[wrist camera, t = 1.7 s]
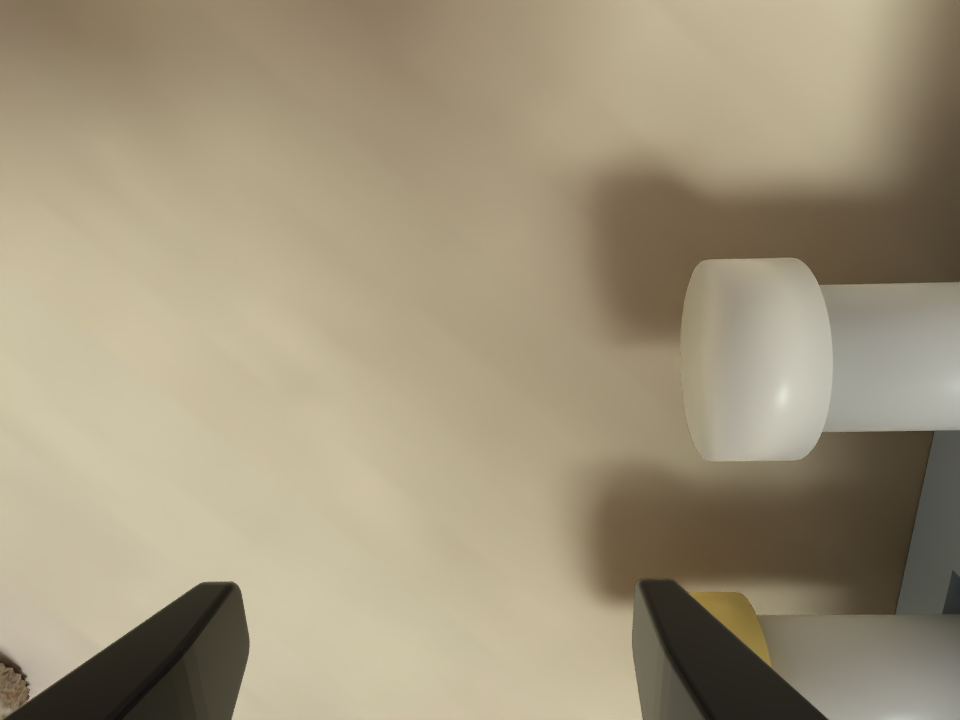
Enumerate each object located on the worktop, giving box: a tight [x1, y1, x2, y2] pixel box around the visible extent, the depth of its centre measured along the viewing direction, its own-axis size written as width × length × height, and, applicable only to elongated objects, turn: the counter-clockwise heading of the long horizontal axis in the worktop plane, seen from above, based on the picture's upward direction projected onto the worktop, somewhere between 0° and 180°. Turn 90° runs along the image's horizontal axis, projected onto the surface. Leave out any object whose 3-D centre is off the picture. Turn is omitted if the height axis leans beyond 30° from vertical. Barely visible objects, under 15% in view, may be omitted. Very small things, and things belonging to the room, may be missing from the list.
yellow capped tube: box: [688, 592, 960, 720], centre depth 19 cm, size 4×9×4 cm, turn 92°
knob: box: [680, 258, 960, 462], centre depth 16 cm, size 4×9×4 cm, turn 92°
